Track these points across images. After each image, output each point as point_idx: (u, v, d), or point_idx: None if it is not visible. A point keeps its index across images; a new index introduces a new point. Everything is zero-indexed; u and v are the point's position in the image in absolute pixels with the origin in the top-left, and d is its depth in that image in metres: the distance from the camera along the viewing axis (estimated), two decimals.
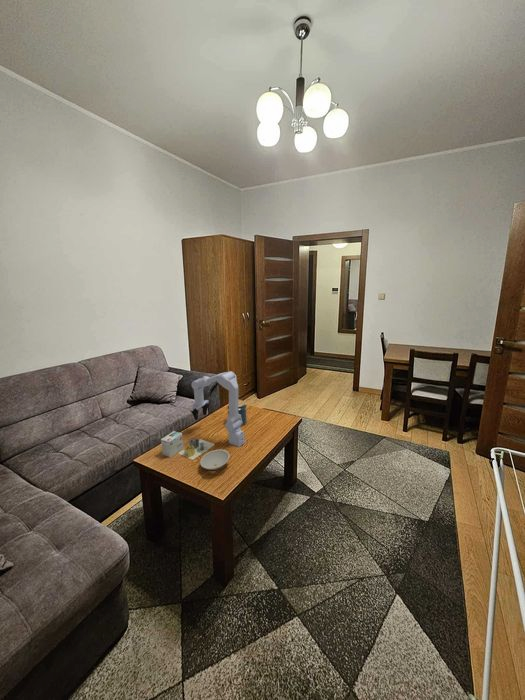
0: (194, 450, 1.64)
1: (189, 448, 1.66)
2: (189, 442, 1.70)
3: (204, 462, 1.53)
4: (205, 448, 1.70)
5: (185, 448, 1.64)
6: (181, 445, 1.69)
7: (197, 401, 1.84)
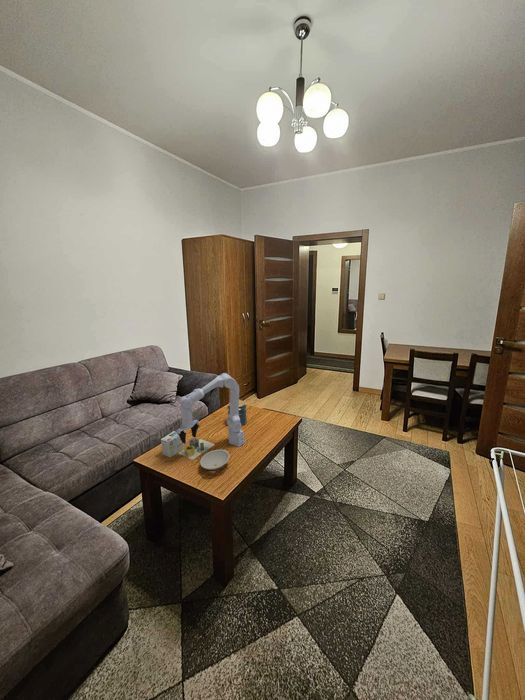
0: (194, 450, 1.64)
1: (189, 448, 1.66)
2: (189, 442, 1.70)
3: (204, 462, 1.53)
4: (205, 448, 1.70)
5: (185, 448, 1.64)
6: (181, 445, 1.69)
7: (185, 422, 1.58)
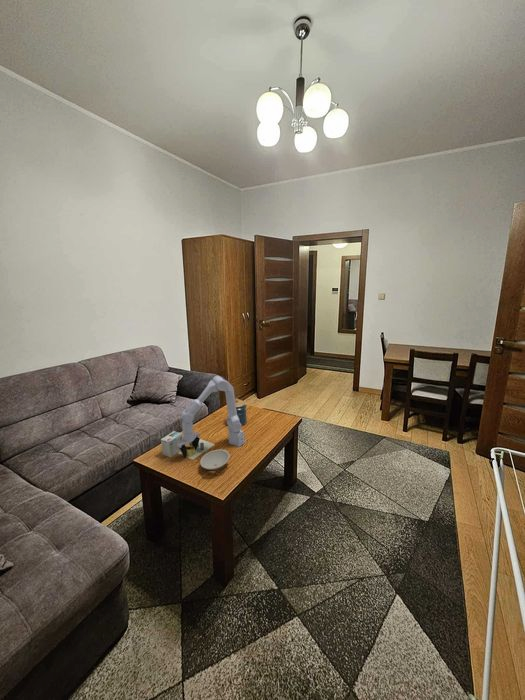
0: (194, 450, 1.64)
1: (189, 448, 1.66)
2: None
3: (204, 462, 1.53)
4: (205, 448, 1.70)
5: None
6: None
7: (186, 436, 1.59)
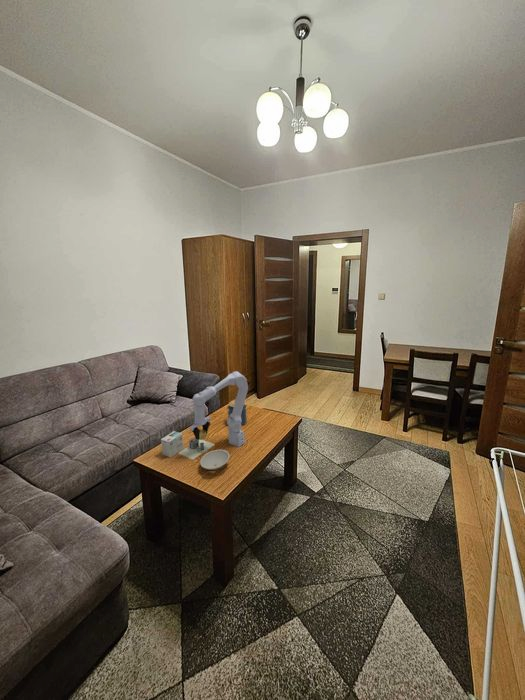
0: (205, 433, 1.66)
1: (200, 432, 1.68)
2: (189, 442, 1.70)
3: (204, 462, 1.53)
4: (205, 448, 1.70)
5: None
6: (181, 445, 1.69)
7: (198, 419, 1.61)
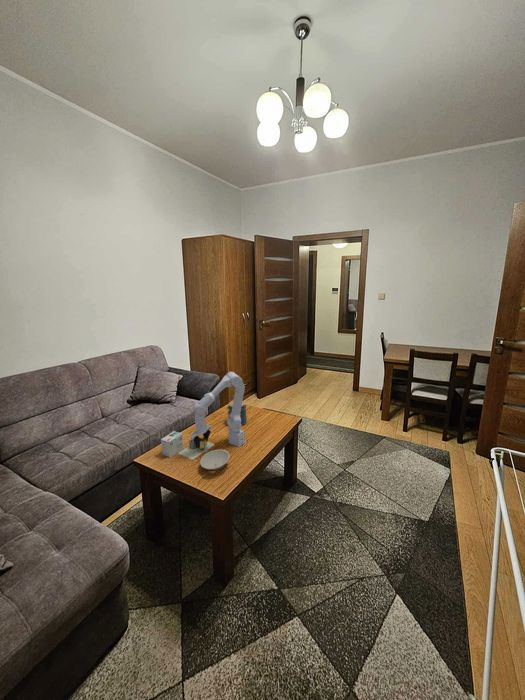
0: (206, 442, 1.68)
1: (201, 440, 1.69)
2: (189, 442, 1.70)
3: (204, 462, 1.53)
4: (205, 448, 1.70)
5: None
6: (181, 445, 1.69)
7: (198, 428, 1.63)
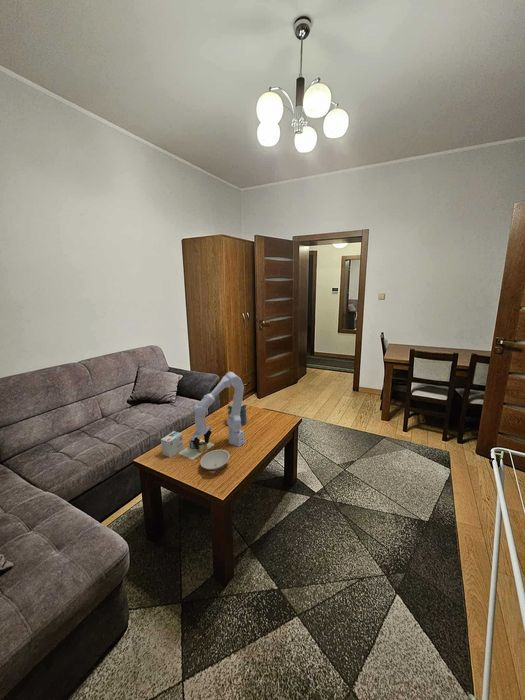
0: (206, 446, 1.68)
1: None
2: (189, 442, 1.70)
3: (204, 462, 1.53)
4: None
5: None
6: (181, 445, 1.69)
7: (198, 429, 1.63)
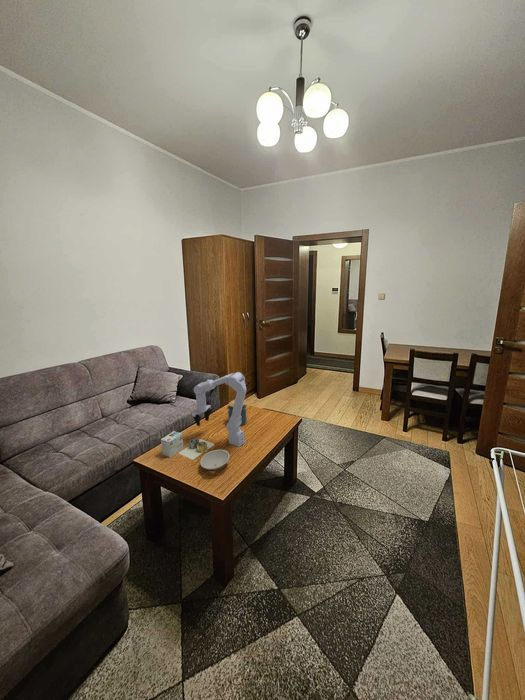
0: (206, 446, 1.68)
1: None
2: (189, 442, 1.70)
3: (204, 462, 1.53)
4: None
5: (197, 444, 1.68)
6: (181, 445, 1.69)
7: (199, 406, 1.76)
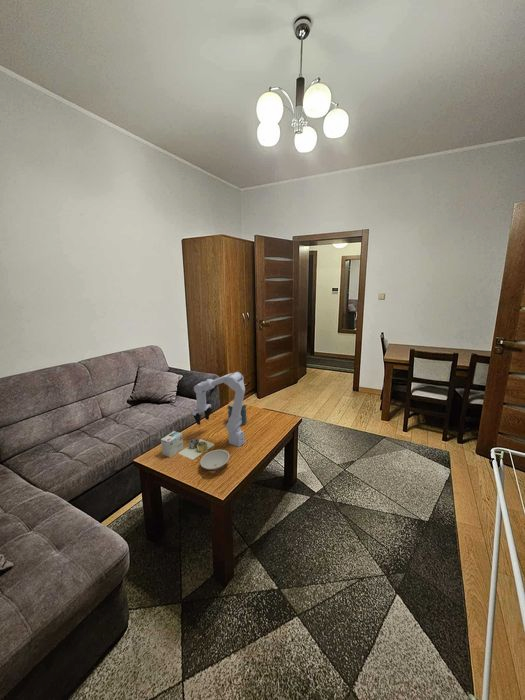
0: (206, 446, 1.68)
1: None
2: (189, 442, 1.70)
3: (204, 462, 1.53)
4: None
5: (197, 444, 1.68)
6: (181, 445, 1.69)
7: (199, 405, 1.78)
